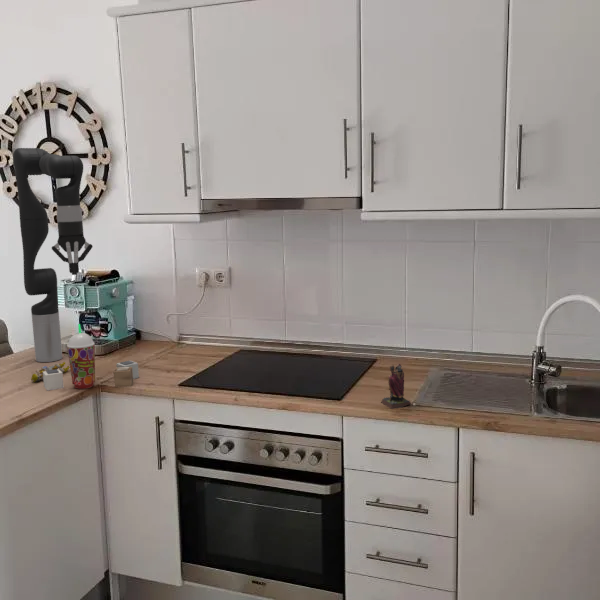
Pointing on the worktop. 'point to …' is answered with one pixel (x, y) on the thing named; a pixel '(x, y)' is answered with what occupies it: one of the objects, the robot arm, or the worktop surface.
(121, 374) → the block walnut numbered
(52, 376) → the white hollow cube
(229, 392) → the worktop surface
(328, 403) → the worktop surface
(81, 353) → the smoothie
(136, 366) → the block grey numbered
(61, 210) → the robot arm
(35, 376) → the toy
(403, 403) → the figurine
